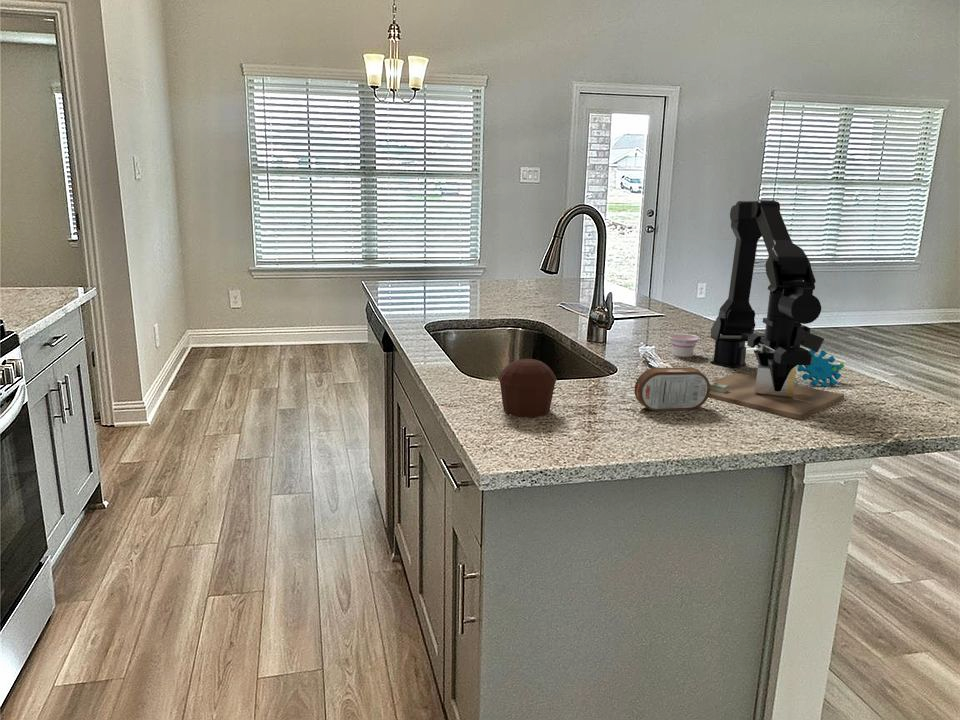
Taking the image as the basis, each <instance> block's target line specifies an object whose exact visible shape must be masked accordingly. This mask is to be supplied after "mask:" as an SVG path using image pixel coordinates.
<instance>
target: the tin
mask: <svg viewBox="0 0 960 720" xmlns="http://www.w3.org/2000/svg"><path fill="white" fill-rule="evenodd" d="M633 392H634V396H635V399H636V400H637V402H639V403H638V404H641V405H642V406H643V407H644V408H646V409H648V410H650V411H655V412H659V411H660V412H661V411H662V412H663V411H664V412H665V411H690V410H691V411H693V410H696V409H698V408H700V407H701V406H702V405H704V404H705V402H707V400H708V398H709V397H708V396H709V392H710V383H709V379H708V377H707V376H706V375H705V374H704V373H702V371H700V370H699V369H697V368H694V367H652V368H650V369H649V368H648V369H646V370H645V371H644V372H642V373H641V374H640V375H639V377H638V378H637V379H636V382H635V384H634V391H633Z"/></svg>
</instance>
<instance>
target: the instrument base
mask: <svg viewBox="0 0 960 720" xmlns="http://www.w3.org/2000/svg"><path fill="white" fill-rule="evenodd" d="M756 379H757V375H756V376H755V375H750V374H745V373H741V372H735V373H732V374H729V375H726V376H723V377H720V378H716V379H714V380H711V381H709V383H710V392H709V396H708V398H711V399H715V400H719V401H723V402H726V403H730V404H735V405H739V406H741V407H747V408H750V409H754V410H758V411H762V412H765V413H770V414H774V415H778V416H782V417H786V418H791V419H794V420H798V421H801V420H804V419H806V418H807V417H810V416H812V415H814V414H816V413H817V412H819V411H821V410H823V409H825V408H827V407H829V406H831V405H833V404H835V403H837V402H839V401H841V400H843V399H844V397H845V394H843V393H839V392H834V391H828V390H824V389H818V388H813V387H810V386H809V387H808V386H803V385H799V384H796V383H794V391H793V397H786V396H778V395H769V394H761V393H755V388H756ZM842 398H843V399H842Z"/></svg>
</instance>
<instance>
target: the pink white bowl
mask: <svg viewBox="0 0 960 720" xmlns="http://www.w3.org/2000/svg"><path fill="white" fill-rule="evenodd" d="M668 339H669V341H670V344H671V346H672V350H671V354H672V356H674V357H679V358H692V357H693V356H694V353H695V351H694V350H695V347H696V346H697V343H699V342H700V339H701V337H699V336H698V335H695V334H690V333H671V334H669V335H668Z"/></svg>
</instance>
